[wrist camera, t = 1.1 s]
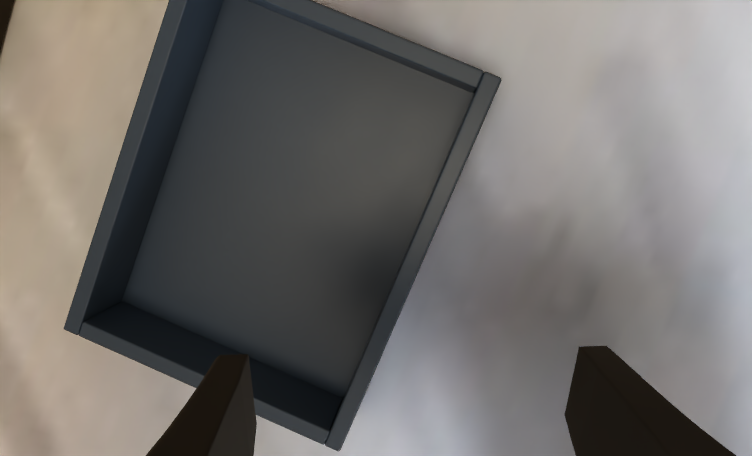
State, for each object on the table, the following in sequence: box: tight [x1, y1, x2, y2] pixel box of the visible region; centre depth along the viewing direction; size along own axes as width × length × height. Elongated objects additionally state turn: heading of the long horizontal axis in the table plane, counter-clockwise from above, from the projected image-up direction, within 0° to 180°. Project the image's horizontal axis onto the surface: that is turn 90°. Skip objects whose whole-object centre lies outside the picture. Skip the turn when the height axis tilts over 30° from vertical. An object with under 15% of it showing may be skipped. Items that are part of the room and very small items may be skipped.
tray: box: [64, 0, 501, 451], centre depth 23 cm, size 11×14×3 cm
